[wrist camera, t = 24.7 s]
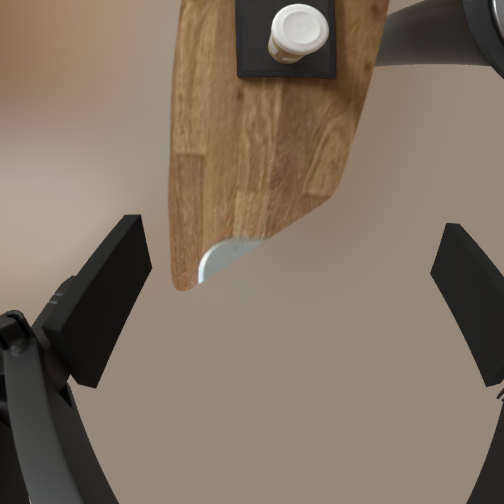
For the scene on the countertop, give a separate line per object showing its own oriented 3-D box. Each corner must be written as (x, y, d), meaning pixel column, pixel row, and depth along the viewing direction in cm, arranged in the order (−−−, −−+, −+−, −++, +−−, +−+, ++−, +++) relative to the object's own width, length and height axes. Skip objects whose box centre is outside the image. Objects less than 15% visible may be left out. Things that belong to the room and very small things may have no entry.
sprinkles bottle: (296, 69, 32) (317, 62, 21) (261, 55, 31) (263, 39, 20) (311, 38, 30) (338, 17, 18) (275, 24, 29) (285, -6, 18)
